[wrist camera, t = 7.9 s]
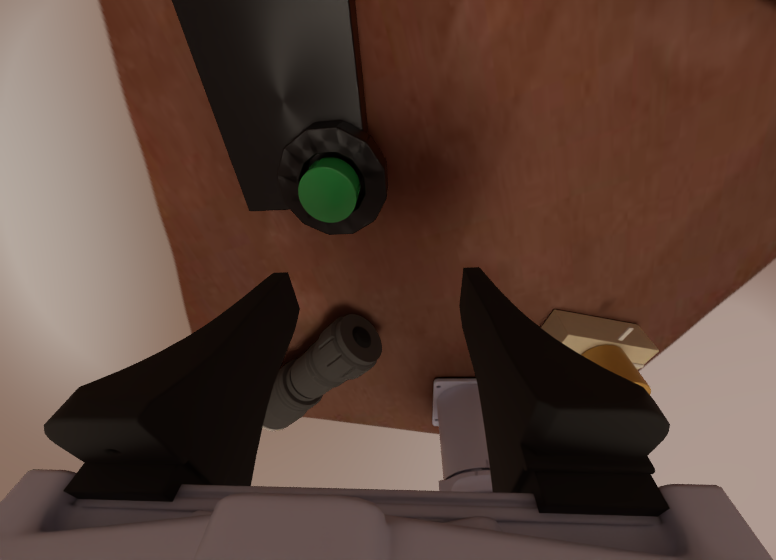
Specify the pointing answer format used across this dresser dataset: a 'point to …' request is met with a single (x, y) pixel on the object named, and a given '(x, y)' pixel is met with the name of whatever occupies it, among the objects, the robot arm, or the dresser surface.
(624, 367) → the lock knob
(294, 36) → the box
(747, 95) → the dresser surface
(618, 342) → the dial box
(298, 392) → the flashlight
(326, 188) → the release button
